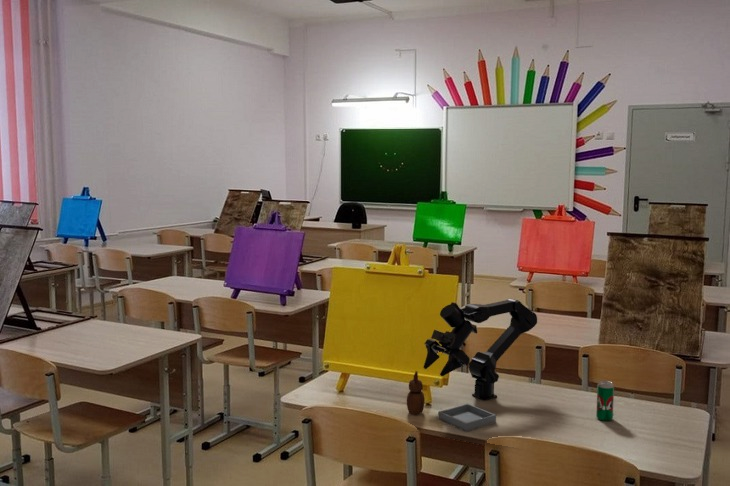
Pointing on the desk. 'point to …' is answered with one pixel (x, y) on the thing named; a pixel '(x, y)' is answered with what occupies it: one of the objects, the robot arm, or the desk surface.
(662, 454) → the desk surface
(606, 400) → the soda can
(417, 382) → the wooden figurine
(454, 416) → the tray
